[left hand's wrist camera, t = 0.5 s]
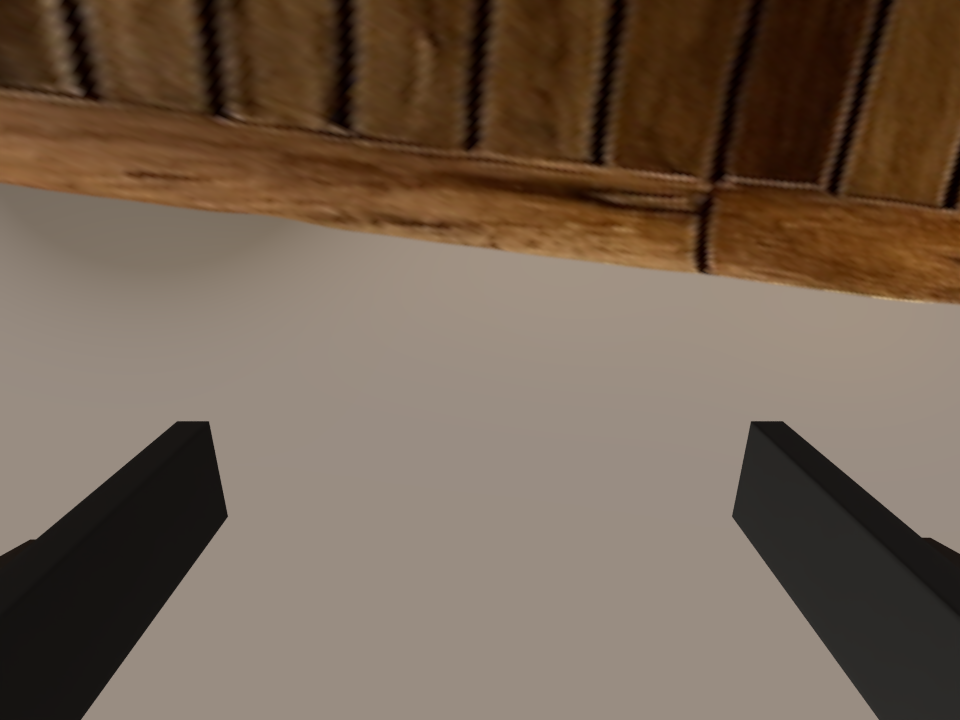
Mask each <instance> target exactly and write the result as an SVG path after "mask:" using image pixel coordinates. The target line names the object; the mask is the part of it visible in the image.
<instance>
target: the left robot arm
mask: <svg viewBox="0 0 960 720" xmlns="http://www.w3.org/2000/svg"><path fill="white" fill-rule="evenodd" d="M227 517H228V515H227V510H226V505H225V500H224V495H223V490H222V485H221V480H220V475H219V470H218V465H217V460H216V455H215V450H214V445H213V440H212V435H211V430H210V425H209V422H208V421H178V422H176V423H175V424H174V425H172V426H171V427H170V428H169V429H168V430H166V431H165V432H164V433H163V434H162V435H160V436H159V437H158V438H157V439H156V440H155V441H153V442H152V443H151V444H150V445H149V446H147V447H146V448H145V449H144V450H143V451H141V452H140V453H139V454H138V455H137V456H135V457H134V458H133V459H132V460H131V461H129V462H128V463H127V464H126V465H125V466H123V467H122V468H121V469H120V470H119V471H117V472H116V473H115V474H114V475H113V476H111V477H110V478H109V479H108V480H107V481H105V482H104V483H103V484H102V485H101V486H100V487H98V488H97V489H96V490H95V491H94V492H92V493H91V494H90V495H89V496H88V497H86V498H85V499H84V500H83V501H82V502H80V503H79V504H78V505H77V506H76V507H74V508H73V509H72V510H71V511H70V512H68V513H67V514H66V515H65V516H64V517H62V518H61V519H60V520H59V521H58V522H57V523H55V524H54V525H53V526H52V527H51V528H49V529H48V530H47V531H46V532H45V533H43V534H42V535H41V536H40V537H39V538H37V539H36V540H29V541H27V542H25V543H23V544H21V545H20V546H18V547H16V548H14V549H12V550H11V551H9V552H7V553H5V554H3V555H2V556H0V720H81V719H82V717H83V716H84V715H85V713H86V712H87V711H88V709H89V708H90V706H91V705H92V704H93V702H94V701H95V700H96V698H97V697H98V695H99V694H100V693H101V691H102V690H103V688H104V687H105V686H106V684H107V683H108V682H109V680H110V679H111V677H112V676H113V675H114V673H115V672H116V670H117V669H118V668H119V666H120V665H121V664H122V662H123V661H124V659H125V658H126V657H127V655H128V654H129V652H130V651H131V650H132V648H133V647H134V646H135V644H136V643H137V641H138V640H139V639H140V637H141V636H142V635H143V633H144V632H145V630H146V629H147V628H148V626H149V625H150V623H151V622H152V621H153V619H154V618H155V617H156V615H157V614H158V612H159V611H160V610H161V608H162V607H163V606H164V604H165V603H166V601H167V600H168V598H169V597H170V596H171V594H172V593H173V592H174V590H175V589H176V588H177V586H178V585H179V583H180V582H181V581H182V579H183V578H184V576H185V575H186V574H187V572H188V571H189V569H190V568H191V567H192V565H193V564H194V563H195V561H196V560H197V558H198V557H199V556H200V554H201V553H202V552H203V550H204V549H205V547H206V546H207V545H208V543H209V542H210V541H211V539H212V538H213V536H214V535H215V534H216V532H217V531H218V529H219V528H220V527H221V525H222V524H223V523H224V521H225V520H226V518H227ZM732 517H733V518H734V520H735V521H736V522H737V524H738V525H739V527H740V528H741V529H742V531H743V532H744V534H745V535H746V536H747V538H748V539H749V541H750V542H751V543H752V545H753V546H754V547H755V549H756V550H757V552H758V553H759V554H760V556H761V557H762V559H763V560H764V561H765V563H766V564H767V565H768V567H769V568H770V569H771V571H772V572H773V574H774V575H775V576H776V578H777V579H778V581H779V582H780V583H781V585H782V586H783V588H784V589H785V590H786V592H787V593H788V594H789V596H790V597H791V599H792V600H793V601H794V603H795V604H796V605H797V607H798V608H799V610H800V611H801V612H802V614H803V615H804V617H805V618H806V619H807V621H808V622H809V623H810V625H811V626H812V628H813V629H814V630H815V632H816V633H817V635H818V636H819V637H820V639H821V640H822V641H823V643H824V644H825V646H826V647H827V648H828V650H829V651H830V652H831V654H832V655H833V657H834V658H835V659H836V661H837V662H838V664H839V665H840V666H841V668H842V669H843V670H844V672H845V673H846V675H847V676H848V677H849V679H850V680H851V682H852V683H853V684H854V686H855V687H856V688H857V690H858V691H859V693H860V694H861V695H862V697H863V698H864V700H865V701H866V702H867V704H868V705H869V706H870V708H871V709H872V711H873V712H874V713H875V715H876V716H877V717H878V719H879V720H960V554H959V553H957V552H955V551H953V550H952V549H950V548H948V547H946V546H944V545H943V544H941V543H939V542H937V541H935V540H933V539H932V538H921V537H920V536H919V535H918V534H917V533H915V532H914V531H913V530H912V529H911V528H909V527H908V526H907V525H906V524H905V523H903V522H902V521H901V520H900V519H899V518H898V517H896V516H895V515H894V514H893V513H892V512H890V511H889V510H888V509H887V508H886V507H884V506H883V505H882V504H881V503H880V502H878V501H877V500H876V499H875V498H874V497H872V496H871V495H870V494H869V493H868V492H866V491H865V490H864V489H863V488H862V487H860V486H859V485H858V484H857V483H856V482H855V481H853V480H852V479H851V478H850V477H849V476H847V475H846V474H845V473H844V472H843V471H841V470H840V469H839V468H838V467H837V466H835V465H834V464H833V463H832V462H830V461H829V460H828V459H827V458H826V457H825V456H823V455H822V454H821V453H820V452H819V451H817V450H816V449H815V448H814V447H813V446H811V445H810V444H809V443H808V442H807V441H806V440H804V439H803V438H802V437H801V436H800V435H798V434H797V433H796V432H795V431H794V430H792V429H791V428H790V427H789V426H788V425H786V424H785V423H784V422H783V421H752V422H751V425H750V430H749V435H748V440H747V445H746V450H745V455H744V460H743V465H742V470H741V475H740V480H739V485H738V490H737V495H736V500H735V505H734V510H733V515H732Z"/></svg>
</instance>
